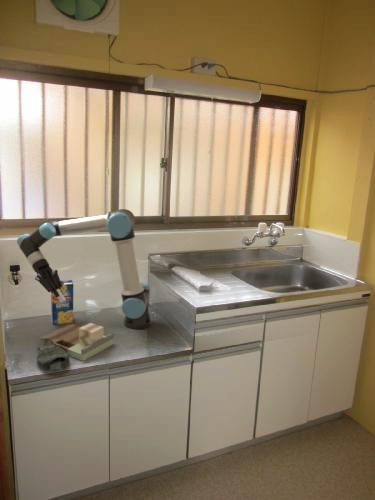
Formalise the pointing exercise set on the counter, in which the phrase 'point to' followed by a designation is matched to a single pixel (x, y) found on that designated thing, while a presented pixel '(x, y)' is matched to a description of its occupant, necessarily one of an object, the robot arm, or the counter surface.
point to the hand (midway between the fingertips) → (63, 301)
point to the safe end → (90, 348)
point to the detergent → (51, 355)
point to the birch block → (90, 334)
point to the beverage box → (63, 304)
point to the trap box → (65, 337)
